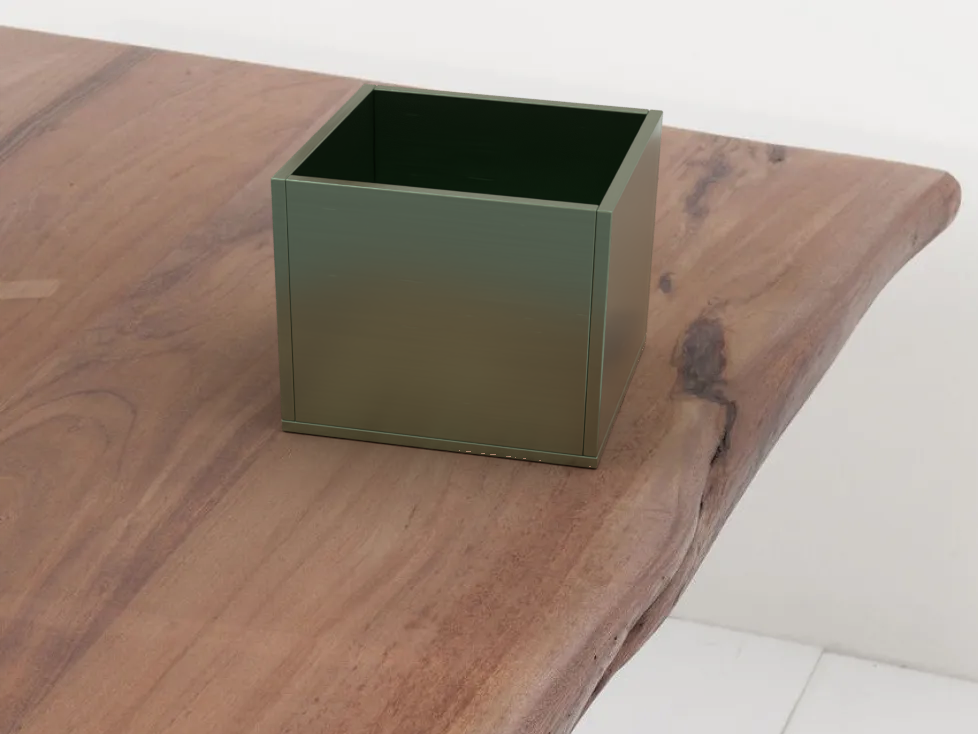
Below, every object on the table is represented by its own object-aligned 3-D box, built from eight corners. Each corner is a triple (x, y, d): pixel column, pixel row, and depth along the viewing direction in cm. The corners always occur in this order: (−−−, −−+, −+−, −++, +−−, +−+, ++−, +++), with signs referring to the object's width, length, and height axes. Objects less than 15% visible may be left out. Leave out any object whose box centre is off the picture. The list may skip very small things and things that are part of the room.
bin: (281, 431, 78) (269, 177, 72) (367, 312, 88) (363, 83, 82) (596, 469, 76) (612, 211, 70) (646, 343, 86) (663, 110, 80)
